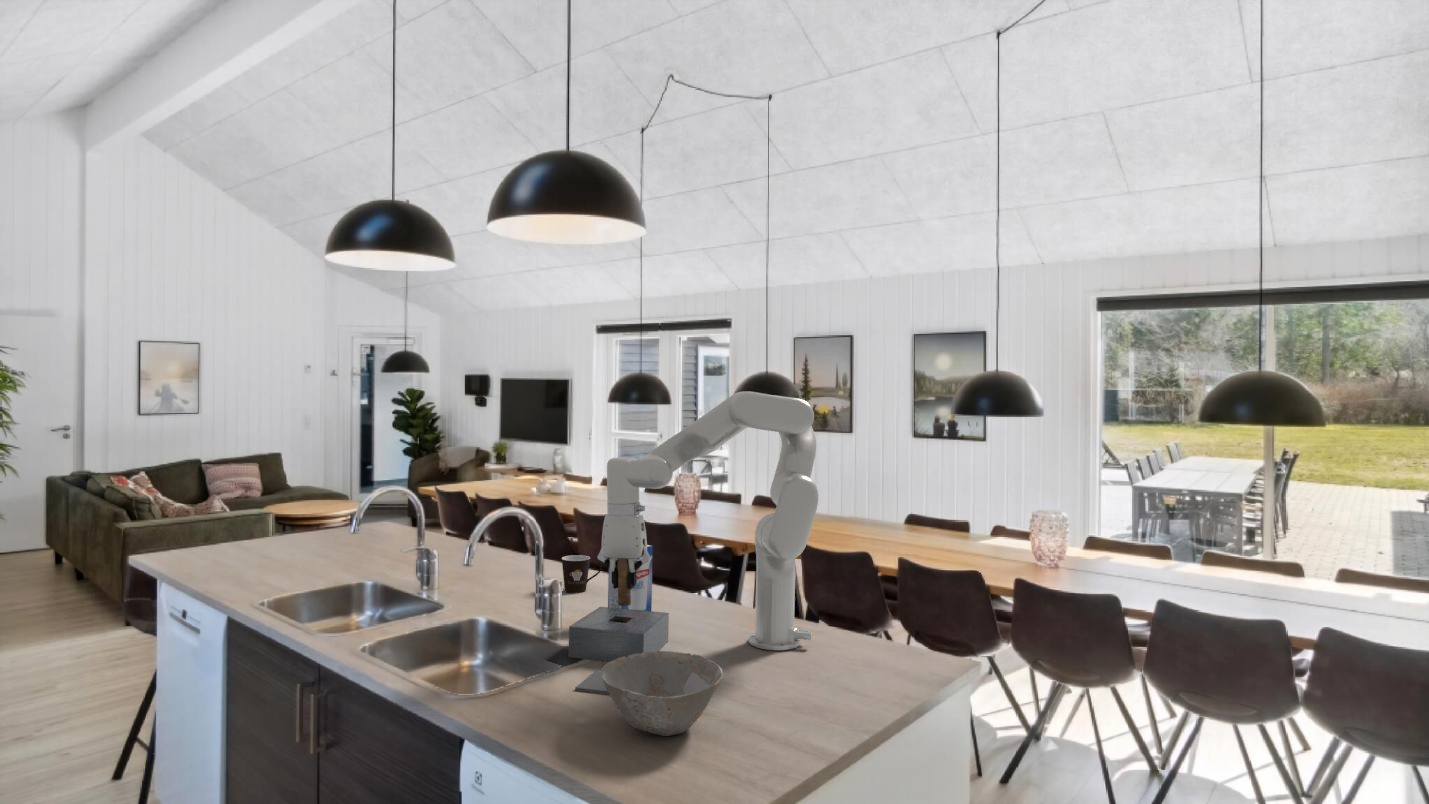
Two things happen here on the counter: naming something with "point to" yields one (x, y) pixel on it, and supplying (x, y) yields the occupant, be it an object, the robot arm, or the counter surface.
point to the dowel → (623, 583)
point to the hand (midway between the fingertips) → (624, 587)
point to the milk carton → (636, 588)
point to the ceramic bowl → (661, 689)
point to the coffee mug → (577, 572)
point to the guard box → (617, 633)
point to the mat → (593, 684)
